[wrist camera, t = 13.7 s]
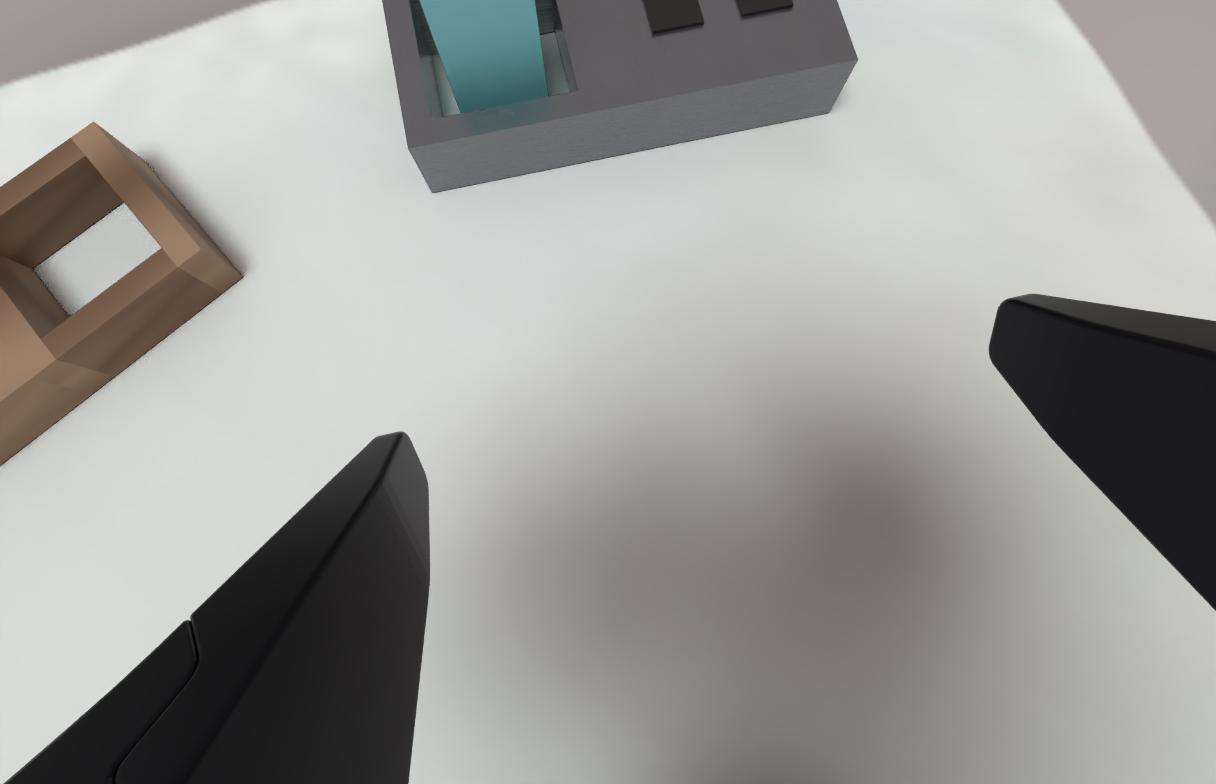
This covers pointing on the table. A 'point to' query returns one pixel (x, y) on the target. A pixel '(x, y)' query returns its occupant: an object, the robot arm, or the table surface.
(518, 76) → the plug
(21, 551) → the table surface
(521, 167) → the port block
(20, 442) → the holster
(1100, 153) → the table surface
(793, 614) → the table surface
